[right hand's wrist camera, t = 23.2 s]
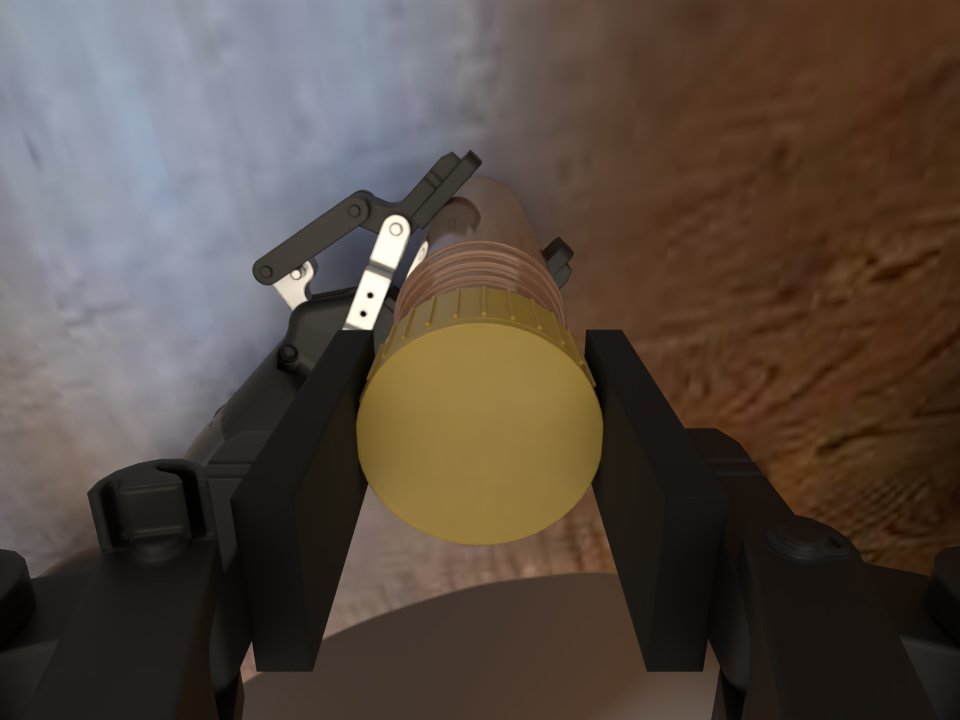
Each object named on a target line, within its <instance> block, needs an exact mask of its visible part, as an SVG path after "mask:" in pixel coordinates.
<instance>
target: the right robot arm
mask: <svg viewBox="0 0 960 720" xmlns="http://www.w3.org/2000/svg"><path fill="white" fill-rule="evenodd" d="M584 358H585V360H586V362H587V365H588V367H589V369H590V372H591V374H592V377H593V379H594V381H595V384H596V387H594V390H595V392H596V395H597V397H598V400H599V404H600V407H601V410H602V416H603V438H602V451H601V460H600V463H599V467H598V470H597V472H596V474H595V476H594V478H593V481H592V483H591V484H592V487H593V491H594V494H595V498H596V501H597V504H598V508H599V511H600V514H601V518H602V521H603V525H604V528H605V531H606V535H607V538H608V541H609V545H610V548H611V552H612V555H613V558H614V562H615V565H616V568H617V572H618V575H619V578H620V582H621V585H622V589H623V592H624V595H625V599H626V602H627V605H628V609H629V612H630V615H631V619H632V622H633V626H634V629H635V632H636V636H637V639H638V643H639V646H640V649H641V653H642V656H643V659H644V663H645V666H646V669H647V671H648V672H702V671H703V667H704V661H705V655H706V648H707V642H708V639H709V641H710V643H711V646H712V648H713V650H714V653H715V655H716V657H717V660H718V662H719V664H720V671H719V677H718V683H717V689H716V695H715V701H714V707H713V713H712V719H711V720H960V546H956V547H950V548H945V549H944V550H942V551H941V552H940V553H938V554H937V555H936V556H935V559H934V563H933V566H932V569H931V573H930V576H927V575H922V574H916V573H911V572H906V571H901V570H896V569H891V568H886V567H881V566H876V565H873V564H869V563H865V562H863V560H862V558H861V555H860V553H859V551H858V550H857V549H856V548H855V546H854V545H853V544H852V543H851V541H850V540H849V539H848V538H847V537H845V536H844V535H842V534H841V533H839V532H838V531H836V530H835V529H833V528H832V527H830V526H828V525H825V524H823V523H820V522H818V521H816V520H813V519H811V518H806V517H802V516H797V515H795V514H794V513H793V512H792V510H791V509H790V508H789V507H788V505H787V504H786V503H785V501H784V500H783V499H782V498H781V496H780V495H779V494H778V492H777V491H776V490H775V489H774V487H773V486H772V485H771V483H770V482H769V481H768V480H767V478H766V477H765V476H762V472H761V470H760V469H759V468H758V467H757V465H756V464H755V463H754V462H752V461H751V460H752V459H751V458H750V456H749V455H748V454H747V452H746V451H745V450H744V449H743V447H742V446H741V445H740V443H739V442H737V441H736V440H734V439H732V438H731V437H729V436H727V435H726V434H724V433H723V432H721V431H719V430H718V429H716V428H684V427H683V425H682V424H681V422H680V420H679V419H678V417H677V416H676V414H675V413H674V411H673V409H672V408H671V406H670V405H669V403H668V402H667V400H666V399H665V397H664V395H663V394H662V392H661V391H660V389H659V388H658V386H657V384H656V383H655V381H654V380H653V378H652V377H651V375H650V374H649V372H648V370H647V369H646V367H645V366H644V364H643V363H642V361H641V359H640V358H639V356H638V355H637V353H636V352H635V350H634V348H633V347H632V345H631V344H630V342H629V341H628V339H627V338H626V336H625V334H624V333H623V331H622V330H586V341H585V357H584ZM374 359H375V348H374V331H373V330H338V331H337V332H336V334H335V335H334V337H333V338H332V340H331V342H330V343H329V345H328V346H327V348H326V349H325V351H324V352H323V354H322V356H321V357H320V359H319V360H318V362H317V363H316V365H315V367H314V368H313V370H312V371H311V373H310V374H309V376H308V377H307V379H306V381H305V382H304V384H303V385H302V387H301V388H300V390H299V392H298V393H297V395H296V396H295V398H294V399H293V401H292V402H291V404H290V406H289V407H288V409H287V410H286V412H285V413H284V415H283V417H282V418H281V420H280V421H279V423H278V424H277V426H276V427H275V429H274V431H242V432H241V433H239V434H238V435H236V436H234V437H233V438H231V439H230V440H228V441H226V442H225V443H223V444H221V445H220V447H219V448H218V449H217V451H216V452H215V453H214V455H213V456H212V457H211V458H210V460H209V461H208V465H205V466H204V467H203V466H201V465H200V464H199V463H197V462H193V461H189V460H184V459H158V460H153V461H148V462H142V463H138V464H135V465H132V466H129V467H126V468H123V469H121V470H118V471H115V472H114V473H112V474H110V475H108V476H107V477H105V478H103V479H102V480H100V481H98V482H97V483H96V484H95V485H94V486H93V487H92V488H91V490H90V491H89V492H88V493H87V494H88V499H89V503H90V507H91V511H92V515H93V519H94V523H95V527H96V531H97V535H98V539H99V544H100V548H101V555H100V557H99V559H98V561H97V563H96V565H95V566H91V567H87V568H83V569H79V570H74V571H69V572H64V573H59V574H53V575H48V576H43V577H38V578H33V579H31V578H30V575H29V571H28V568H27V565H26V561H25V559H24V558H23V557H22V556H20V555H19V554H18V553H17V552H15V551H10V550H3V549H0V720H242V714H243V705H244V690H243V683H242V677H241V671H240V667H241V664H242V662H243V660H244V657H245V655H246V653H247V650H248V648H249V646H250V643H251V641H252V645H253V651H254V657H255V664H256V670H257V672H291V671H292V672H312V671H313V668H314V664H315V661H316V658H317V655H318V651H319V648H320V644H321V641H322V638H323V634H324V631H325V628H326V624H327V621H328V617H329V614H330V611H331V607H332V604H333V601H334V597H335V594H336V591H337V587H338V584H339V580H340V577H341V574H342V570H343V567H344V564H345V560H346V557H347V553H348V550H349V547H350V543H351V540H352V537H353V533H354V530H355V526H356V523H357V520H358V516H359V513H360V510H361V506H362V503H363V500H364V496H365V493H366V489H367V486H368V481H367V479H366V477H365V475H364V473H363V471H362V468H361V465H360V461H359V456H358V444H357V430H356V420H357V413H358V409H359V406H360V402H359V400H360V397H361V395H362V392H363V390H364V387H365V385H366V383H367V379H366V378H367V376H368V374H369V371H370V369H371V366H372V364H373V362H374Z"/></svg>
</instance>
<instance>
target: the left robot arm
mask: <svg viewBox="0 0 960 720" xmlns="http://www.w3.org/2000/svg"><path fill="white" fill-rule="evenodd" d="M481 163H482V160H481V159H480V158H479V157H478V156H476V155H475V154H474V153H473V152H472V151H471V150H469V151H468V152H467V153H466V154H465V156H464V157H463V158H462V159H460V158H458V157H457V156H456V155H455V154H454V153H453V152H451V153H449V154H447V155H445V156H443V157H441V158H440V159H439V160H438V162H437V163H436V164H435V165H434V166H433V167H432V168H431V170H430V171H429V172H428V173H427V174H426V175H425V176H424V178H423V179H422V180H421V181H420V182H419V183H418V185H417V186H416V187H415V188H414V189H413V190H412V191H411V193H410V194H409V195H408V196H407V197H406V198H405V199H404V200H402V201H400V202H397V203H390V202H387V201H384V200H382V199H380V198H377V197H375V196H374V195H373V194H372V193H371V192H369V191H367V190H359V191H357V192H355V193H353V194H352V195H351V196H349V197H347V198H346V199H345V200H343V201H342V202H340V203H339V204H337V205H336V206H335V207H333V208H332V209H330V210H329V211H327V212H326V213H325V214H323V215H322V216H320V217H319V218H317V219H316V220H314V221H313V222H312V223H310V224H309V225H307V226H306V227H304V228H303V229H302V230H300V231H299V232H297V233H296V234H294V235H293V236H292V237H290V238H289V239H287V240H286V241H284V242H283V243H282V244H280V245H279V246H277V247H276V248H274V249H273V250H272V251H270V252H269V253H267V254H266V255H264V256H263V257H262V258H260V259H259V260H257V261H256V262H255V263H254V265H253V275H254V277H255V279H256V280H257V281H258V282H259V283H261V284H263V285H272V286H273V287H274V288H275V289H276V291H277V292H278V293H279V295H280V296H281V297H282V298H283V300H284V301H285V302H286V304H287V305H288V306H289V307H290V309H291V310H292V311H293V312H292V313H291V316H290V320H289V327H288V330H287V333H286V335H285V337H284V338H283V339H282V341H281V342H280V343H279V344H278V345H277V346H276V347H275V348H274V350H273V351H272V352H271V353H270V354H269V355H268V356H267V358H266V359H265V360H264V361H263V362H262V363H261V364H260V366H259V367H258V368H257V369H256V370H255V371H254V372H253V374H252V375H251V376H250V377H249V378H248V379H247V380H246V382H245V383H244V384H243V385H242V386H241V387H240V388H239V390H238V391H237V392H236V393H235V394H234V395H233V397H232V398H231V399H230V400H229V401H228V402H227V403H226V404H225V405H223V406H222V407H221V408H220V409H219V410H218V411H217V412H216V413H215V416H214V418H213V419H212V420H211V422H210V423H209V424H208V425H207V426H206V427H205V428H204V430H203V431H202V432H201V433H200V434H199V436H198V437H197V438H196V440H195V441H194V442H193V444H192V445H191V447H190V448H189V450H188V451H187V453H186V455H185V456H184V458H183V459H184V460H189V461H193V462H197V463H199V464H200V465H201V466H203V467H204V466H205V465H208V461H209V460H210V458H211V457H212V456H213V455H214V453H215V452H216V451H217V449H218V448H219V447H220V445H221V444H223V443H225V442H226V441H228V440H230V439H231V438H233V437H234V436H236V435H238V434H239V433H241V432H242V431H274V429H275V427H276V426H277V424H278V423H279V421H280V420H281V418H282V417H283V415H284V413H285V412H286V410H287V409H288V407H289V406H290V404H291V402H292V401H293V399H294V398H295V396H296V395H297V393H298V392H299V390H300V388H301V387H302V385H303V384H304V382H305V381H306V379H307V377H308V376H309V374H310V373H311V371H312V370H313V368H314V367H315V365H316V363H317V362H318V360H319V359H320V357H321V356H322V354H323V352H324V351H325V349H326V348H327V346H328V345H329V343H330V342H331V340H332V338H333V337H334V335H335V334H336V332H337V331H338V330H373V331H374V348H375V357H376V355H377V352H378V350H379V347H380V345H381V343H382V344H385V341H386V340H387V338H388V337H389V334H390V332H391V329H392V327H393V320H394V310H395V304H396V301H397V297H398V294H399V292H400V290H399V289H398V288H397V287H396V286H395V285H394V286H393V287H391V286H392V283H393V281H394V278H395V276H396V273H397V270H398V268H399V265H400V263H401V260H402V257H403V254H404V252H405V249H406V246H407V244H408V241H409V239H410V236H411V235H412V234H413V233H414V232H415V231H416V229H417V228H418V227H420V228H421V229H422V230H423V229H424V228H425V226H426V225H427V224H428V223H429V222H430V221H431V220H432V219H433V217H434V216H435V215H436V214H437V212H438V211H439V210H440V209H441V208H443V206H444V205H445V204H446V203H447V202H448V201H449V200H450V199H451V198H452V196H453V195H454V194H455V193H456V192H457V191H458V190H459V189H460V188H461V186H462V185H463V184H464V183H465V182H466V181H467V180H468V179H469V177H470V176H471V175H472V174H473V173H474V172H475V171H476V170H477V168H478V167H479V166H480V165H481ZM358 226H360V227H362V228H365V229H367V230H370V231H372V232H374V233H377V234H379V235H378V238H377V241H376V243H375V246H374V249H373V251H372V254H371V257H370V259H369V262H368V264H367V266H366V268H365V271H364V273H363V276H362V279H361V281H360V284H359V286H357V287H352V288H346V289H341V290H336V291H331V292H325V293H320V294H315V295H312V294H311V292H310V288H309V284H310V281H311V279H312V278H313V277H314V276H315V275H316V274H317V272H318V264H317V261H316V260H315V258H314V256H316V255H317V254H319V253H320V252H321V251H323V250H324V249H326V248H327V247H329V246H330V245H332V244H333V243H335V242H336V241H337V240H339V239H340V238H342V237H343V236H345V235H346V234H348V233H349V232H351V231H352V230H353V229H355V228H356V227H358ZM542 252H543V254H544V256H545V259H546V261H547V263H548V265H549V268H550V270H551V272H552V274H553V277H554V279H555V281H556V284H557V286H558V288H559V289H560V288H561V287H562V286H563V285H564V284H565V283H566V282H567V281H568V278H569V276H570V274H571V272H572V270H571V268H570V267H569V265H568V262H569V260H570V259H571V258H572V256H573V254H574V253H573V251H572V250H571V248H570V247H569V246H568V245H567V244H566V243H565V242H564V241H563V240H562V239H561V238H560V237H557V238H556V239H555V240H553V241H552V242H551V243H550V244H549V245H548V246H547V247H546V248H545V249H544V250H543V251H542ZM100 555H101V548H100V547H97V548H89V549H85V550H82V551H79V552H76V553H74V554H72V555H70V556H68V557H66V558H64V559H63V560H61V561H60V562H58V563H57V564H55V565H54V566H52V567H51V568H49V569H48V570H46V571H45V572H44V573H42V574H41V575H40V576H38V577H43V576H48V575H53V574H59V573H64V572H69V571H74V570H79V569H83V568H87V567H91V566H95V565H96V563H97V561H98V559H99V557H100ZM38 577H37V578H38Z"/></svg>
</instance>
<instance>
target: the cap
mask: <svg viewBox="0 0 960 720" xmlns="http://www.w3.org/2000/svg"><path fill="white" fill-rule="evenodd" d="M366 379H367V383H366V385H365V387H364V390H363V392H362V395H361V397H360V400H359V402H360V406H359V409H358V413H357V420H356V430H357V444H358V456H359V461H360V465H361V468H362V471H363V473H364V475H365V477H366V479H367V481H368V483H369V485H370V486H371V488H372V490H373V491H374V493H375V494H376V496H377V497H378V498H379V499H380V500H381V502H382V503H383V504H384V505H385V506H386V507H387V508H388V509H389V510H390V511H391V512H392V513H393V514H394V515H395V516H397V517H398V518H399V519H401V520H402V521H404V522H405V523H406V524H408V525H409V526H411V527H413V528H415V529H417V530H419V531H420V532H422V533H425V534H427V535H430V536H432V537H435V538H438V539H442V540H445V541H449V542H454V543H460V544H468V545H491V544H500V543H506V542H511V541H515V540H518V539H522V538H525V537H527V536H530V535H532V534H535V533H537V532H539V531H541V530H543V529H545V528H547V527H548V526H550V525H552V524H553V523H555V522H556V521H557V520H559V519H560V518H562V517H563V516H564V515H565V514H566V513H567V512H569V511H570V510H571V509H572V508H573V507H574V506H575V505H576V504H577V502H578V501H579V500H580V499H581V498H582V496H583V495H584V494H585V492H586V491H587V489H588V487H589V486H590V484H591V483H592V481H593V478H594V476H595V474H596V472H597V470H598V467H599V463H600V460H601V451H602V438H603V416H602V410H601V407H600V404H599V400H598V397H597V395H596V392H595V390H594V387H596V384H595V381H594V379H593V377H592V374H591V372H590V369H589V367H588V365H587V362H586V360H585V358H584V355H583V353H582V350H578V347H577V345H576V342H575V340H574V338H573V335H572V333H571V331H570V330H569V329H568V330H566V328H565V327H564V326H563V325H562V324H561V323H560V321H559V320H558V319H557V318H556V315H555V313H553V312H551V313H550V312H549V311H548V310H546V309H545V308H543V307H542V306H540V305H539V304H537V303H536V302H535V300H534V299H532V298H531V299H528V298H526V297H523V296H521V295H518V294H515V293H512V292H511V290H507V291H504V290H499V289H493V288H486V286H482V288H467V289H460V288H457V289H456V290H455V291H450V292H447V293H445V294H442V295H439V296H436V295H434V296H432V298H431V299H430V300H428V301H426V302H424V303H422V304H421V305H419V306H418V307H416V308H415V309H414V307H413V308H411V309H410V312H409V314H407V315H406V316H405V317H404V318H403V319H402V320H401V321H400V322H399V323H398V324H397V325H396V324H394V325H393V327H392V329H391V332H390V334H389V337H388V338H387V340H386V341H385V344H382V343H381V345H380V347H379V350H378V352H377V355H376V357H375V359H374V362H373V364H372V366H371V369H370V371H369V374H368V376H367V378H366Z"/></svg>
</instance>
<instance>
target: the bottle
mask: <svg viewBox="0 0 960 720" xmlns="http://www.w3.org/2000/svg"><path fill="white" fill-rule="evenodd" d="M482 286H486V288H493V289H499V290H504V291H507V290H511V292H512V293H515V294H518V295H521V296H523V297H526V298H528V299H531V298H532V299H534V300H535V302H536V303H537V304H539V305H540V306H542V307H543V308H545V309H546V310H548V311H549V312H550V313H551V312H553V313H555V315H556V318H557V319H558V320H559V321H560V323H561V324H562V325H563V326H564V327H565V328H566V330H567V323H566V312H565V305H564V302H563V298H562V295H561V293H560V290H559V288H558V286H557V284H556V281H555V279H554V277H553V274H552V272H551V270H550V268H549V265H548V263H547V261H546V259H545V256H544V254H543V252H542V249H541V247H540V245H539V243H538V240H537V238H536V236H535V233H534V231H533V229H532V227H531V224H530V222H529V220H528V218H527V215H526V213H525V211H524V208H523V206H522V204H521V202H520V200H519V198H518V197H517V195H516V194H515V193H514V192H513V191H512V190H511V189H510V188H509V187H508V186H506V185H505V184H503V183H501V182H499V181H497V180H494V179H491V178H487V177H473V178H469V179H468V180H467V181H466V182H465V183H464V184H463V185H462V186H461V188H460V189H459V190H458V191H457V192H456V193H455V194H454V195H453V196H452V198H451V199H450V200H449V201H448V202H447V203H446V204H445V205H444V206H443V208H441V209H440V210H439V211H438V212H437V214H436V215H435V216H434V217H433V219H432V220H431V221H430V224H429V226H428V228H427V230H426V233H425V235H424V237H423V240H422V242H421V244H420V246H419V249H418V251H417V253H416V255H415V258H414V260H413V262H412V265H411V267H410V269H409V271H408V274H407V276H406V278H405V280H404V283H403V285H402V287H401V289H400V292H399V294H398V297H397V301H396V304H395V310H394V320H393V325H394V324H396V325H397V324H398V323H399V322H400V321H401V320H402V319H403V318H404V317H405V316H406V315H407V314H409V312H410V309H411V308H413V307H414V309H415V308H416V307H418V306H419V305H421V304H422V303H424V302H426V301H428V300H430V299H431V298H432V296H434V295H436V296H439V295H442V294H445V293H447V292H450V291H455V290H456V289H457V288H460V289H467V288H482Z"/></svg>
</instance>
